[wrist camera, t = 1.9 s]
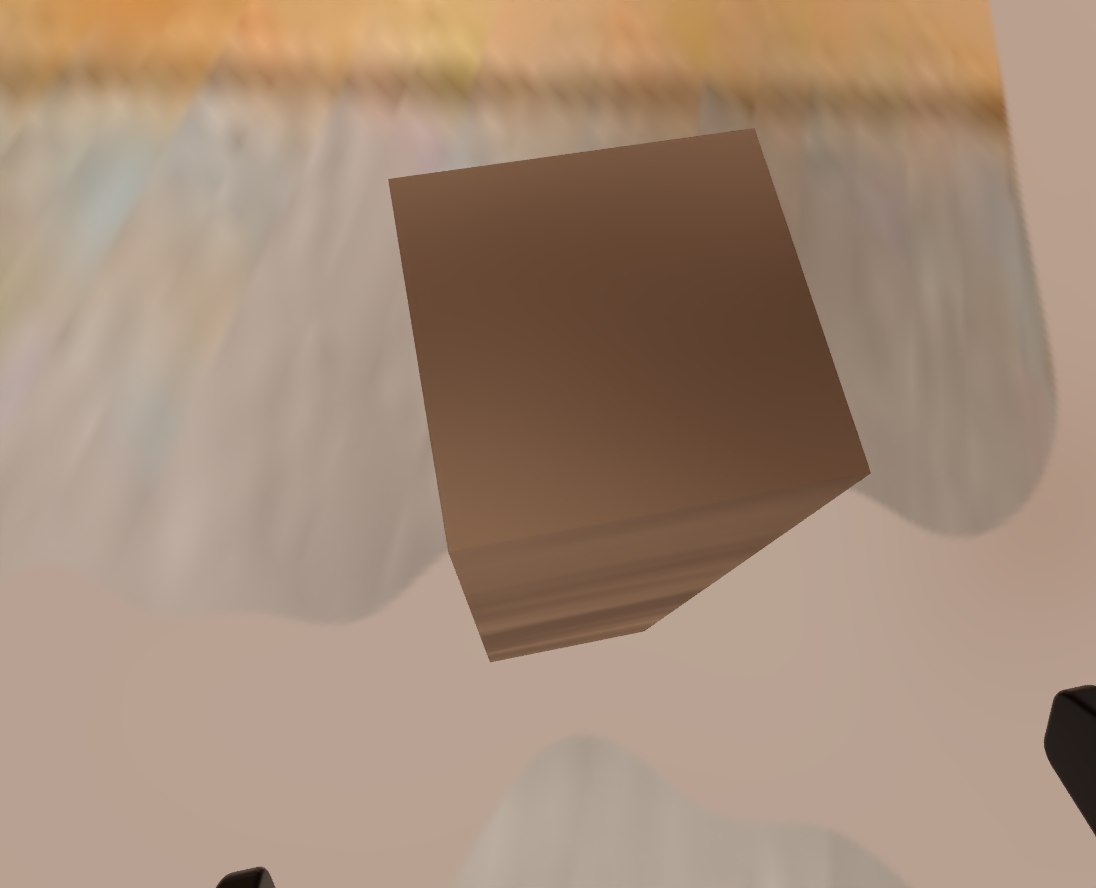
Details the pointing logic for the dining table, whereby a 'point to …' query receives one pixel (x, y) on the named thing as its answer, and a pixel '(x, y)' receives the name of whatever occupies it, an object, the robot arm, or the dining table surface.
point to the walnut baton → (615, 380)
